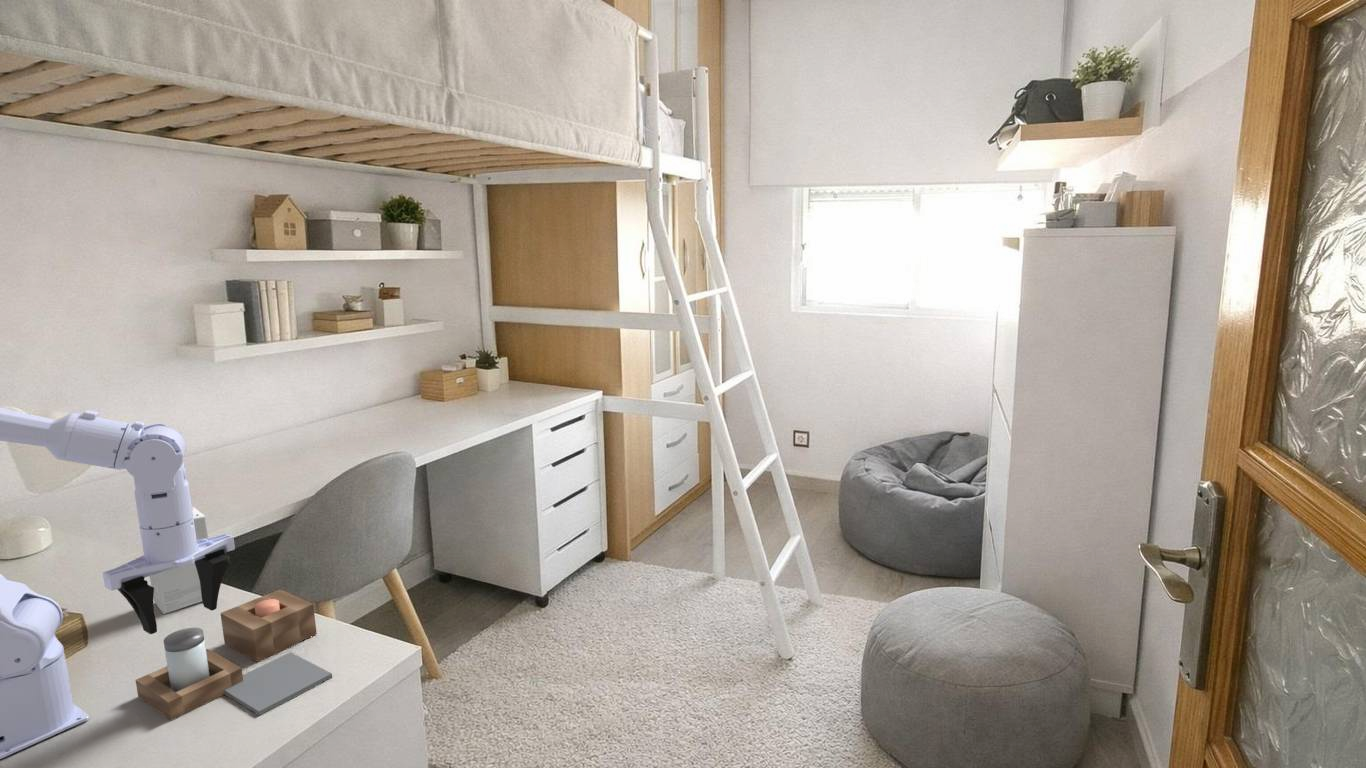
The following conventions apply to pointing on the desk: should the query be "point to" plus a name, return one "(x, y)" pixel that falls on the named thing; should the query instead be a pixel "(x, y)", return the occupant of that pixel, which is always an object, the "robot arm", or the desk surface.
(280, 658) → the pad
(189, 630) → the cylinder
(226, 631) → the plunger housing
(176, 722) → the desk surface
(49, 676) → the robot arm
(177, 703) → the sleeve
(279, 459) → the desk surface
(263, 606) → the plunger
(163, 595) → the skincare box
